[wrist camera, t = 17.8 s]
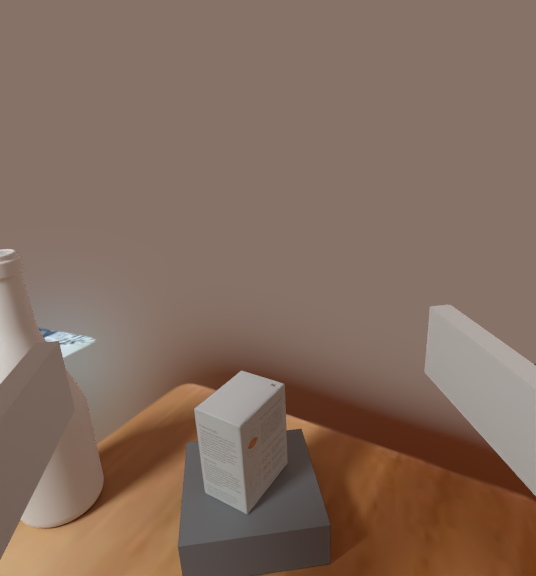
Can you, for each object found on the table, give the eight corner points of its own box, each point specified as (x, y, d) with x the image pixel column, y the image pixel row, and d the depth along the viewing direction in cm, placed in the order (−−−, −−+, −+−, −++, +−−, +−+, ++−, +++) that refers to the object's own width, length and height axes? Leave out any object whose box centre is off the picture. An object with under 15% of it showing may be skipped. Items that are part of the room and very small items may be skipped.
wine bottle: (120, 493, 51) (68, 248, 41) (37, 549, 45) (-49, 275, 34) (83, 457, 57) (30, 237, 47) (5, 502, 51) (-76, 257, 40)
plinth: (184, 586, 40) (178, 546, 38) (191, 475, 53) (186, 442, 52) (330, 563, 42) (330, 525, 40) (302, 461, 55) (301, 428, 53)
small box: (247, 447, 50) (241, 368, 47) (289, 464, 47) (286, 381, 44) (202, 494, 44) (191, 407, 40) (247, 517, 41) (239, 426, 38)
